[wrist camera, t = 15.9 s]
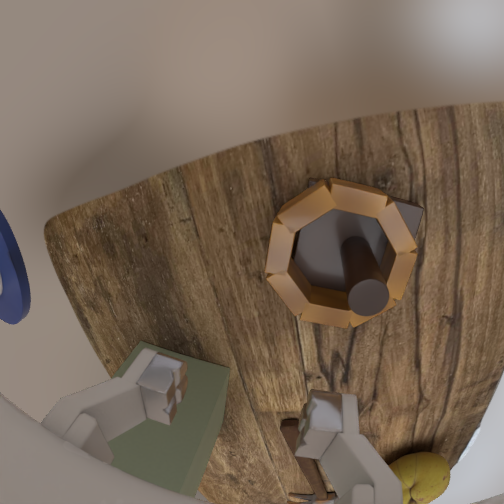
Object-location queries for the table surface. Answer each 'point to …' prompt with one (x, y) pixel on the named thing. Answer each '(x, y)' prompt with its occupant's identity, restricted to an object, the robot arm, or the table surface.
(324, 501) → the hammer
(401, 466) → the fruit
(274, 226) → the ring
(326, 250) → the stand
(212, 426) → the pedestal
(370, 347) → the table surface
